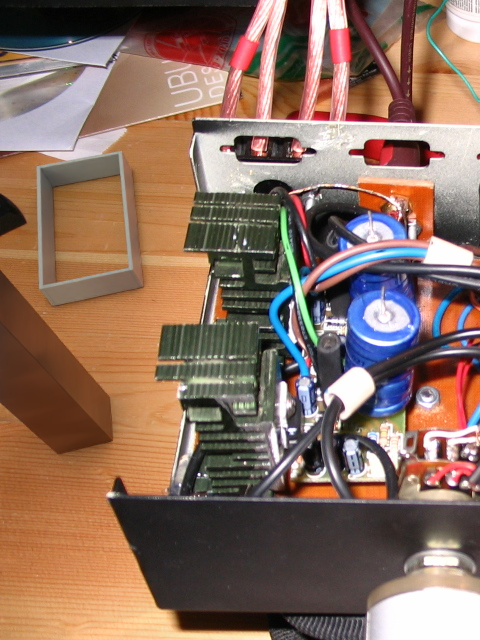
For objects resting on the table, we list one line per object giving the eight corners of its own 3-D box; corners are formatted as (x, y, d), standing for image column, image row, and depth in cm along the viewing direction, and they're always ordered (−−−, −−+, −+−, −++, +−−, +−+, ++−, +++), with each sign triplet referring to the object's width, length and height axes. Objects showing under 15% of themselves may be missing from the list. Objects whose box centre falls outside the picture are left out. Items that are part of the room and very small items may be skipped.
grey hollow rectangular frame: (52, 306, 82) (38, 289, 79) (49, 185, 90) (36, 166, 87) (143, 286, 83) (132, 269, 81) (131, 169, 92) (121, 150, 89)
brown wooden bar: (57, 454, 73) (-130, 288, 51) (56, 409, 76) (-124, 231, 53) (113, 440, 74) (-48, 271, 52) (109, 396, 77) (-45, 216, 54)
